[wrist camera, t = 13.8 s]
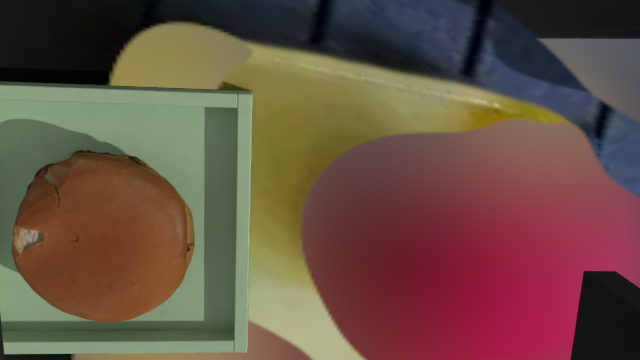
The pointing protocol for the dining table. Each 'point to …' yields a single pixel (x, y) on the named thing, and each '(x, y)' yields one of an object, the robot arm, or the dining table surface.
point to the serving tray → (170, 162)
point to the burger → (102, 236)
